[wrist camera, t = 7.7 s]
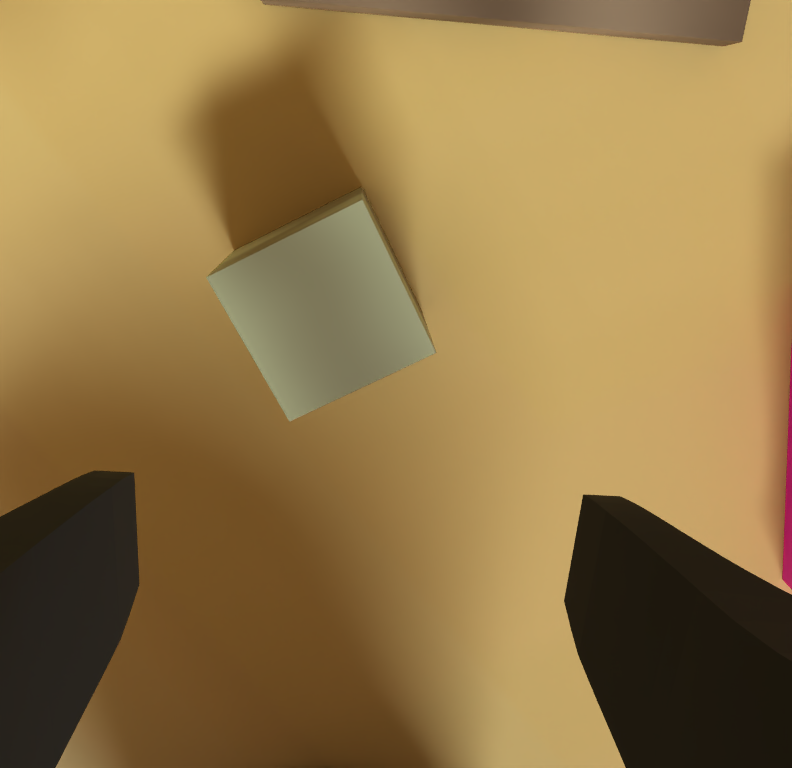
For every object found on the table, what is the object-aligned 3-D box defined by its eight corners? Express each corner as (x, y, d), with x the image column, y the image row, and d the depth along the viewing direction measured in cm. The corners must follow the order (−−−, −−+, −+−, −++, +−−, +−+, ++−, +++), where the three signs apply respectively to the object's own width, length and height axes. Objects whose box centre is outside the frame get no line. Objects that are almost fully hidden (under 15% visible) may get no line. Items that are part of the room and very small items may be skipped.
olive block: (361, 186, 20) (362, 199, 16) (422, 313, 21) (436, 352, 18) (234, 250, 20) (206, 277, 17) (301, 370, 22) (289, 421, 18)
